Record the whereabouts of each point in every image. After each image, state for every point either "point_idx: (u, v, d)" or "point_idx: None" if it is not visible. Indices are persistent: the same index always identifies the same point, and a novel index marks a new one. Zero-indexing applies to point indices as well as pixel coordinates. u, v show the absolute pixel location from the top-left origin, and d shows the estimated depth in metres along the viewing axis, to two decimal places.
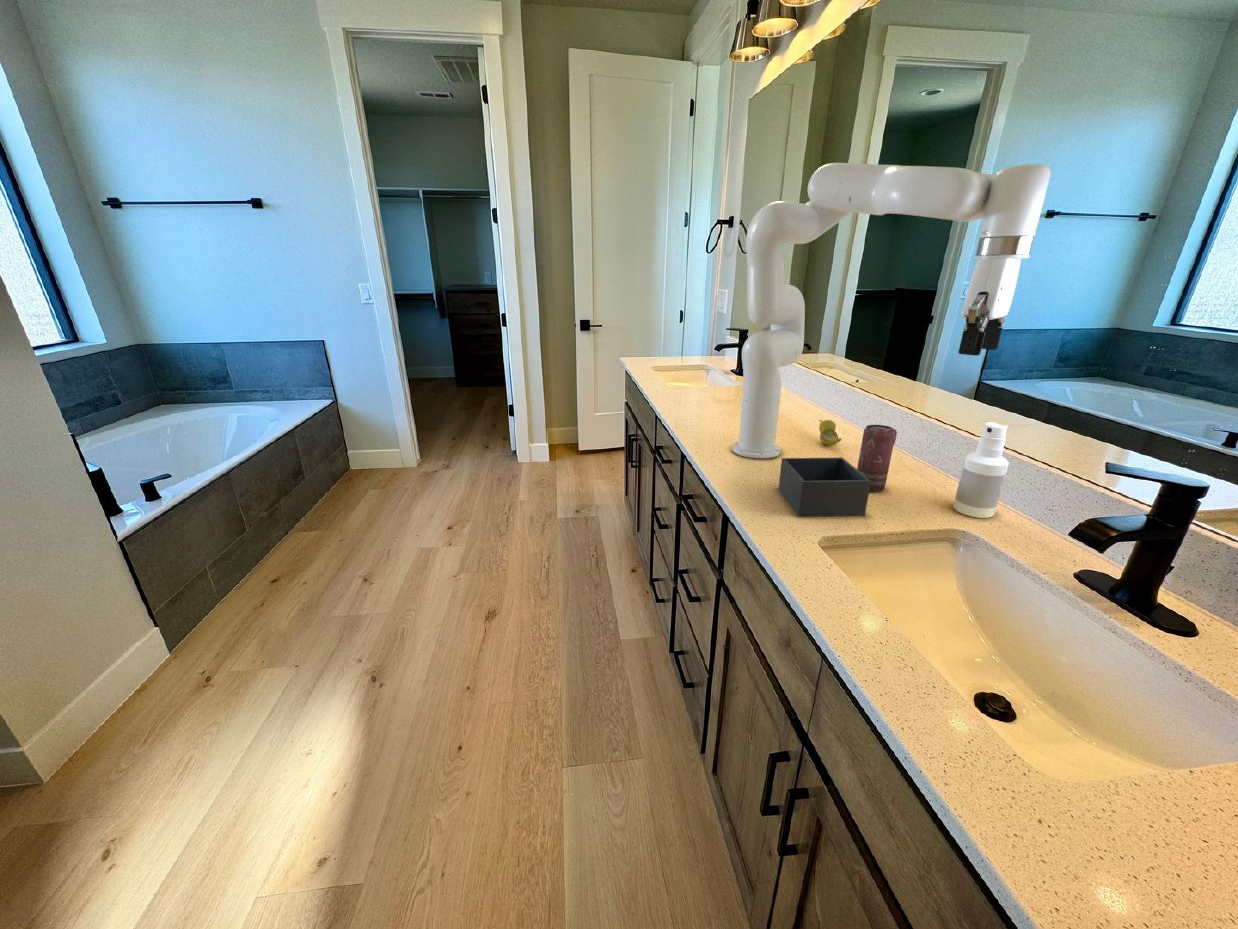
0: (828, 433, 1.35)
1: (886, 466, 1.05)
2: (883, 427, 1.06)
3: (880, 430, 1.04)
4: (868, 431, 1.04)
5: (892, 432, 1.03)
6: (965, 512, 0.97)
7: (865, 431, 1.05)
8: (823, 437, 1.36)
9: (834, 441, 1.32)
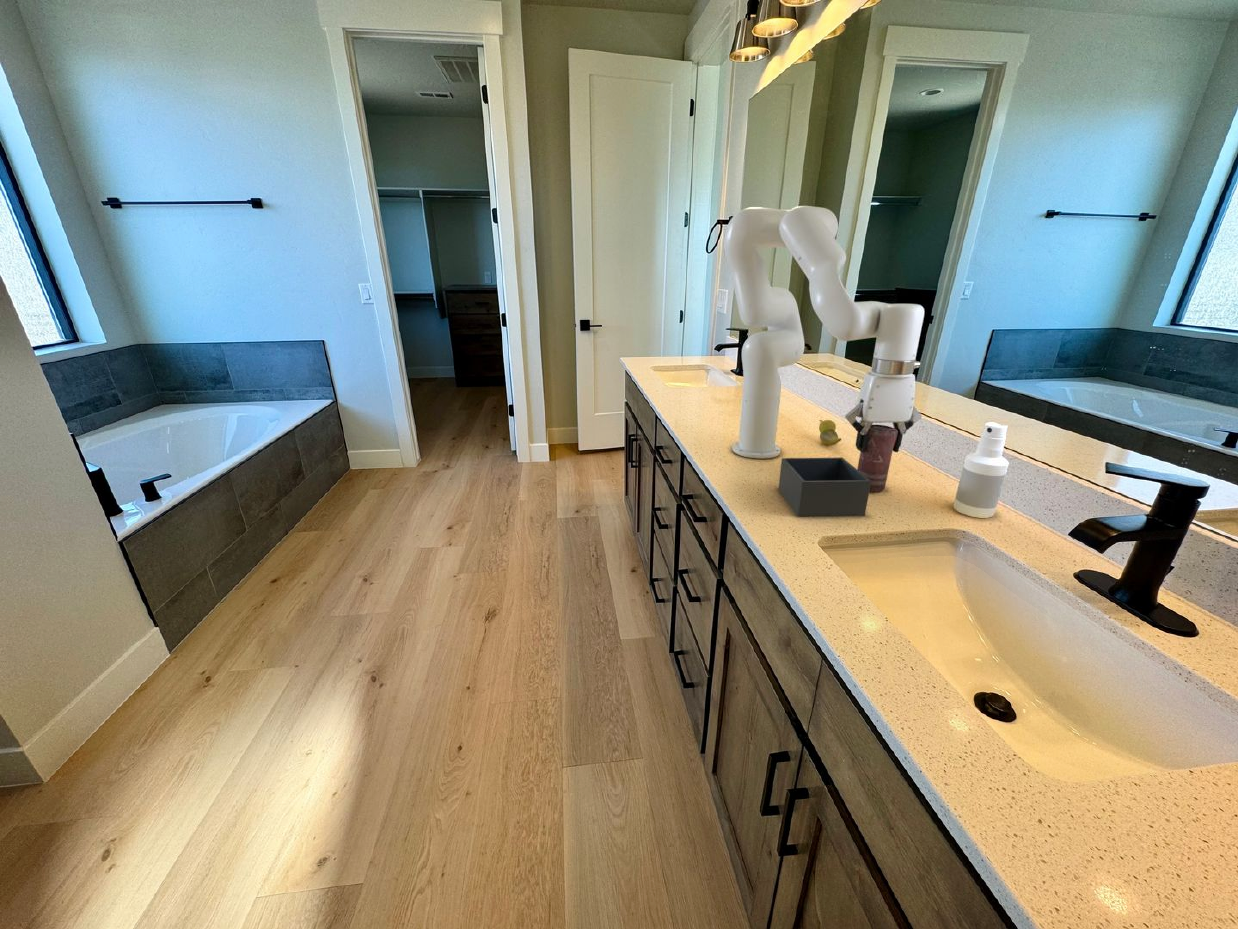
0: (828, 433, 1.35)
1: (886, 466, 1.05)
2: (884, 427, 1.06)
3: (881, 430, 1.04)
4: (869, 431, 1.04)
5: (893, 432, 1.03)
6: (965, 512, 0.97)
7: None
8: (823, 437, 1.36)
9: (834, 441, 1.32)
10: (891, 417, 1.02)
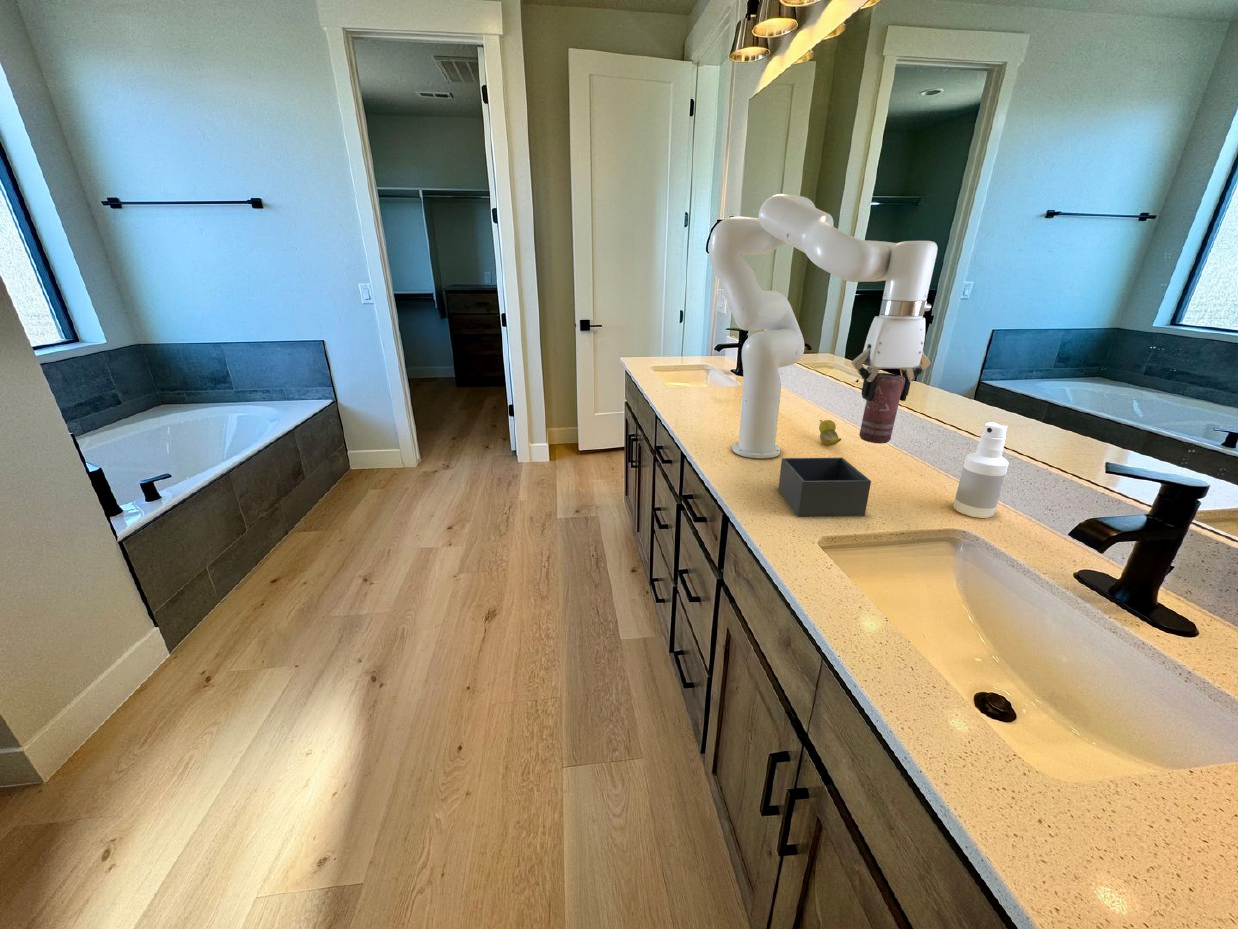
0: (828, 433, 1.35)
1: (893, 415, 1.02)
2: (891, 375, 1.03)
3: (888, 377, 1.01)
4: (875, 378, 1.01)
5: (900, 379, 0.99)
6: (965, 512, 0.97)
7: None
8: (823, 437, 1.36)
9: (834, 441, 1.32)
10: (899, 363, 0.98)
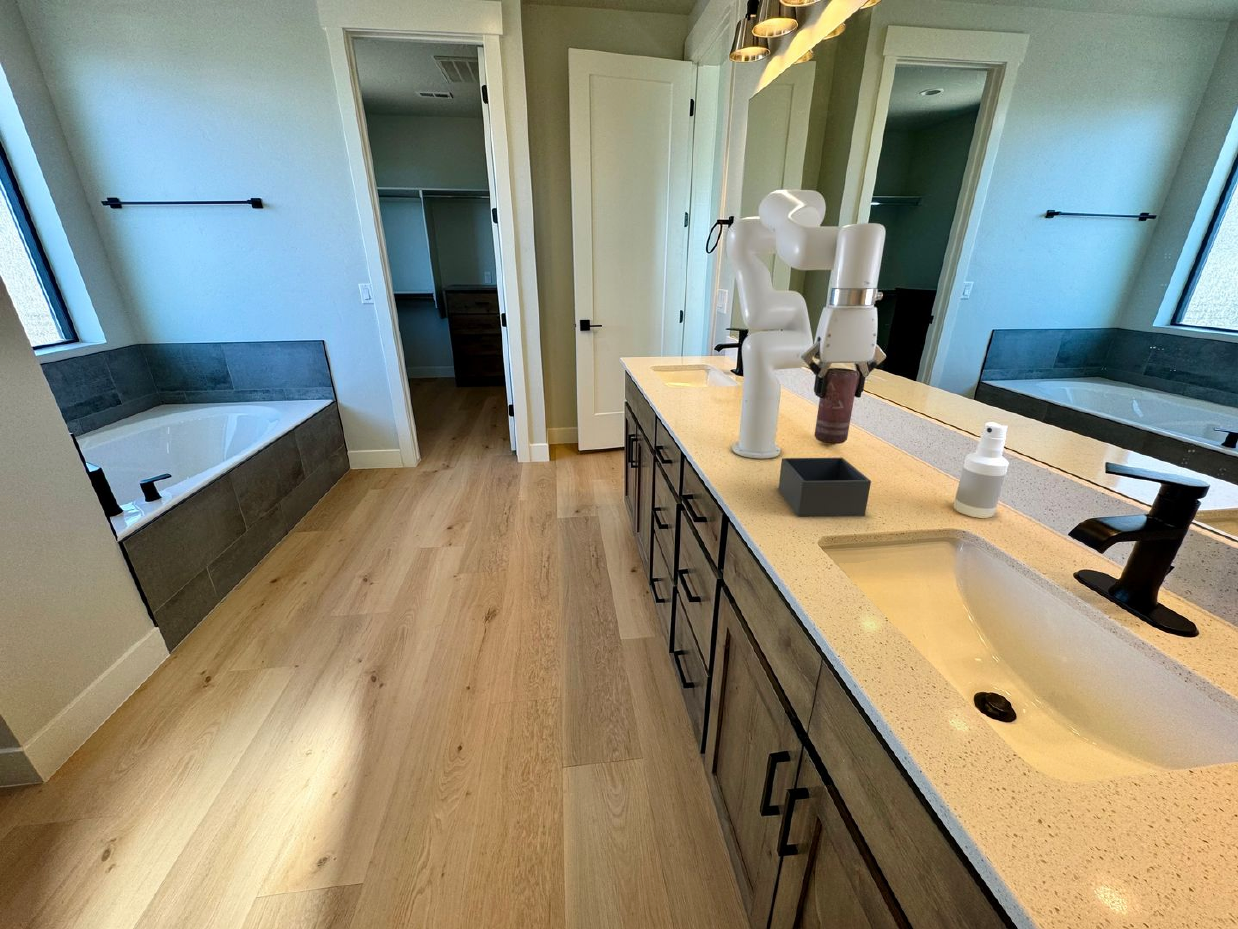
0: None
1: (847, 413, 0.94)
2: (845, 370, 0.95)
3: (841, 372, 0.93)
4: (827, 373, 0.93)
5: (854, 374, 0.92)
6: (965, 512, 0.97)
7: None
8: None
9: None
10: (851, 356, 0.91)
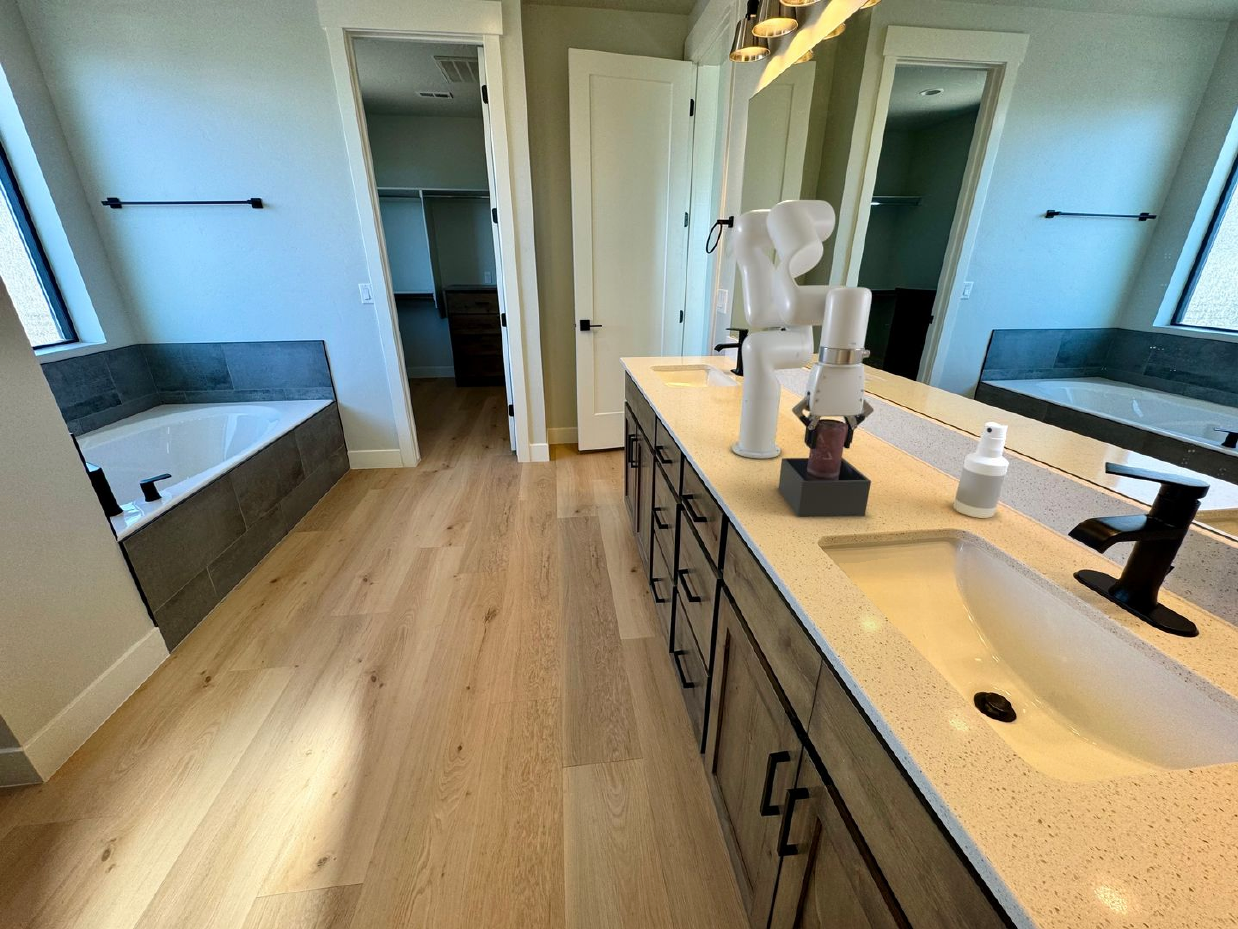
0: None
1: (837, 464, 0.97)
2: (834, 422, 0.99)
3: (830, 425, 0.97)
4: (817, 426, 0.97)
5: (842, 427, 0.95)
6: (965, 512, 0.97)
7: None
8: None
9: None
10: (840, 410, 0.94)
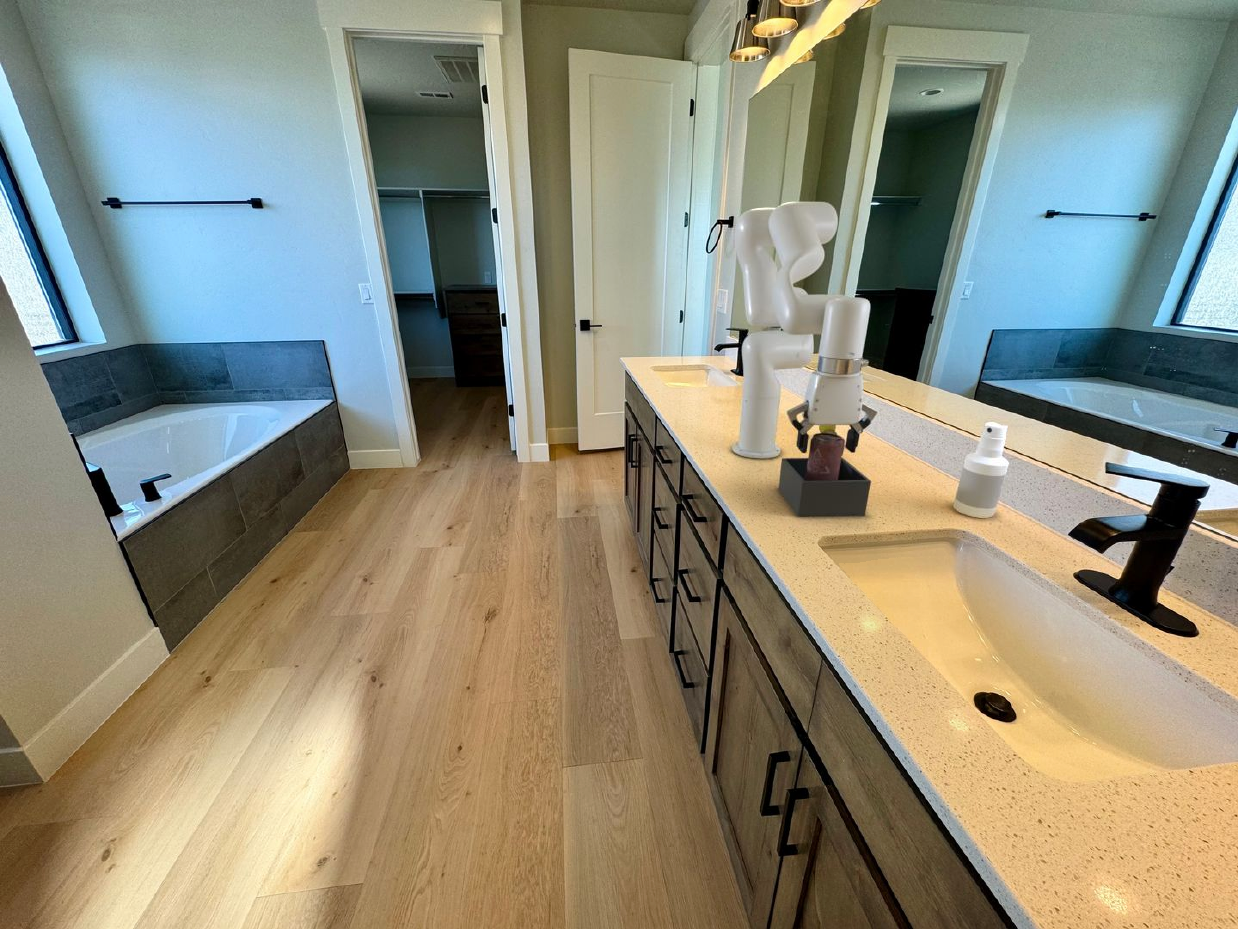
0: None
1: (834, 477, 0.99)
2: (831, 436, 1.00)
3: (827, 439, 0.98)
4: (814, 440, 0.98)
5: (839, 441, 0.96)
6: (965, 512, 0.97)
7: (812, 440, 0.99)
8: None
9: None
10: (838, 419, 0.95)
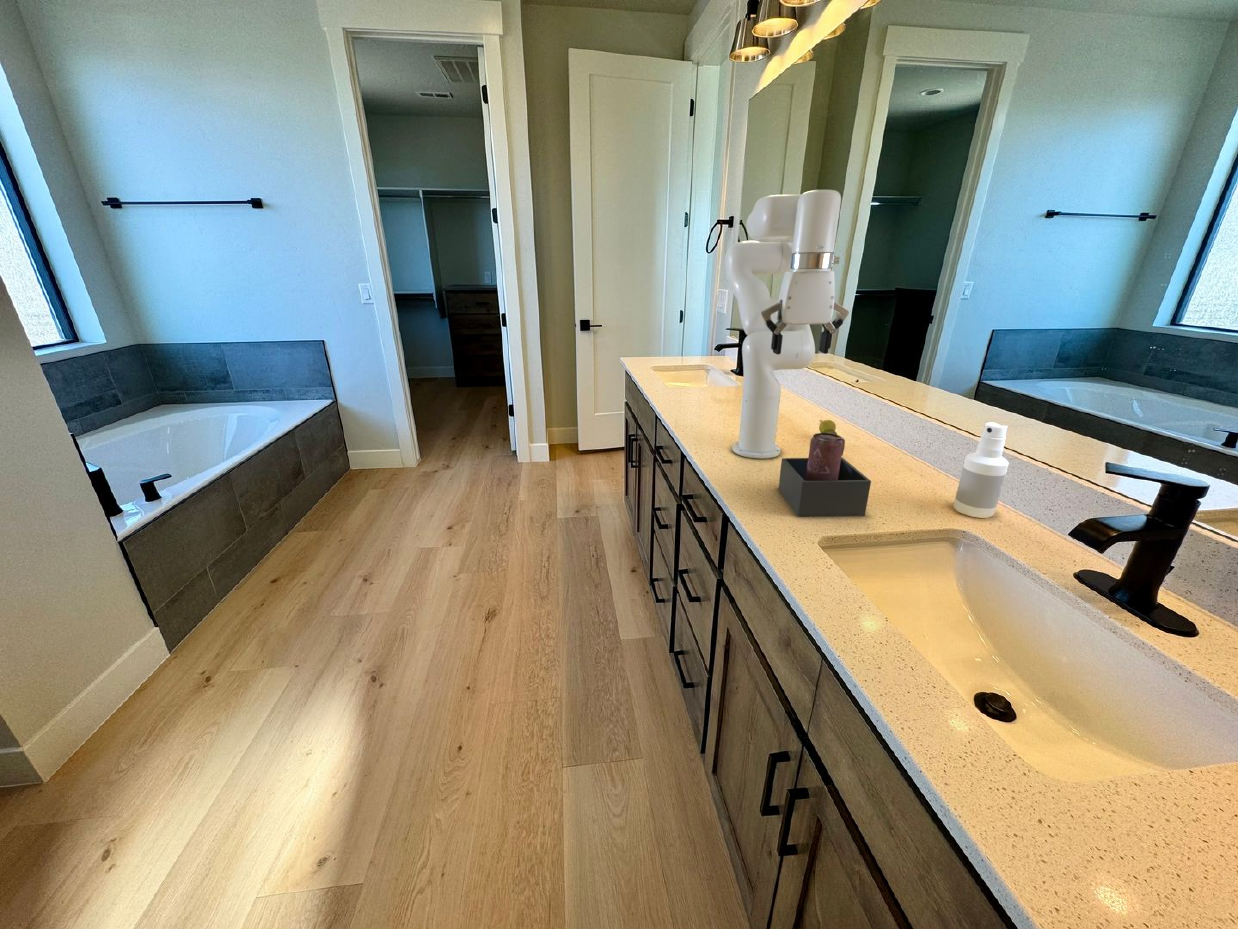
0: None
1: (834, 477, 0.99)
2: (831, 436, 1.00)
3: (827, 439, 0.98)
4: (814, 440, 0.98)
5: (839, 441, 0.96)
6: (965, 512, 0.97)
7: (812, 440, 0.99)
8: None
9: None
10: (811, 318, 0.97)
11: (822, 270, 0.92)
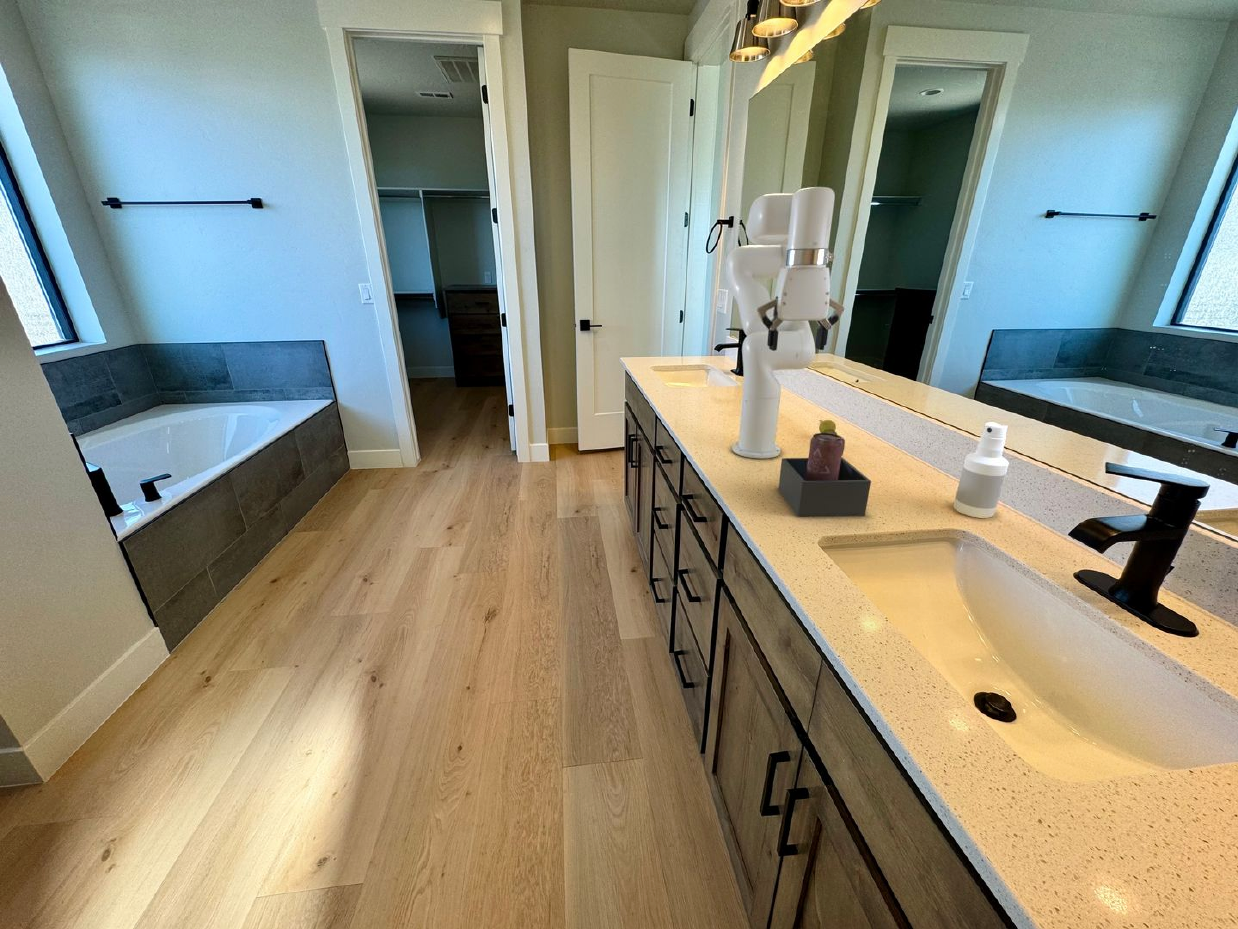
0: None
1: (834, 477, 0.99)
2: (831, 436, 1.00)
3: (827, 439, 0.98)
4: (814, 440, 0.98)
5: (839, 441, 0.96)
6: (965, 512, 0.97)
7: (812, 440, 0.99)
8: None
9: None
10: (806, 314, 0.97)
11: (817, 266, 0.93)
